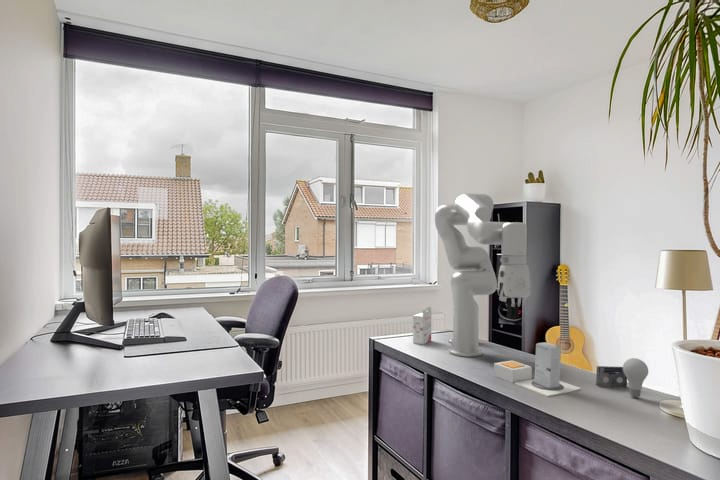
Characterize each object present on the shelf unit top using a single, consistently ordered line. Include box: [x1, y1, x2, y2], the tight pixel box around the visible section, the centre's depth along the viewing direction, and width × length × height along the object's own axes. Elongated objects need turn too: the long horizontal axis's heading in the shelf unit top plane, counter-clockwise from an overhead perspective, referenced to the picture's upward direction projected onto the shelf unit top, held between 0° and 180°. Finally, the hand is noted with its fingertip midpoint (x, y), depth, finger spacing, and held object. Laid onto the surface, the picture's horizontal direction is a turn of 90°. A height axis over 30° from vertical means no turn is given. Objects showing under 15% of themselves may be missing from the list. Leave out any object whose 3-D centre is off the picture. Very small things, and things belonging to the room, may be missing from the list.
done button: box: [501, 360, 524, 368], centre depth 143 cm, size 5×5×3 cm
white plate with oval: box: [514, 378, 582, 398], centre depth 134 cm, size 12×14×1 cm
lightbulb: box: [622, 357, 649, 399], centre depth 125 cm, size 6×6×11 cm
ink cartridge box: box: [412, 306, 432, 345], centre depth 189 cm, size 9×5×15 cm, turn 147°
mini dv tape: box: [595, 365, 628, 389], centre depth 135 cm, size 8×2×6 cm, turn 86°
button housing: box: [493, 360, 533, 384], centre depth 143 cm, size 8×8×4 cm
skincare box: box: [534, 341, 562, 388], centre depth 134 cm, size 6×4×12 cm
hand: (512, 318), depth 143 cm, fingers closed
